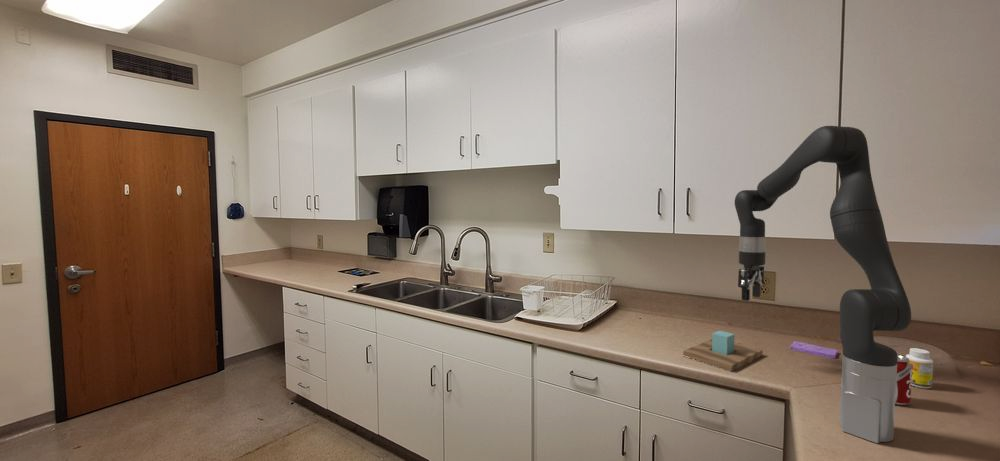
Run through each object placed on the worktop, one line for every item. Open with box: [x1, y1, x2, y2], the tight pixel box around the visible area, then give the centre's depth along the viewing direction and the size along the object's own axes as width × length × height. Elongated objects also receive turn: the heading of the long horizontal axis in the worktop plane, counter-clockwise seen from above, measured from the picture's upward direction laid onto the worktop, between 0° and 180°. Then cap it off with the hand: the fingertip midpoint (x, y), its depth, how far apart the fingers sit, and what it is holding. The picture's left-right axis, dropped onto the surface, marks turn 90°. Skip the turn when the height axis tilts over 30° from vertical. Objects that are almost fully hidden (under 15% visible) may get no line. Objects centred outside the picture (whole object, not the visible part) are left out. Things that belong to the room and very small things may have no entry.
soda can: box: [895, 354, 912, 406], centre depth 106 cm, size 7×7×12 cm
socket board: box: [682, 338, 763, 373], centre depth 138 cm, size 22×16×2 cm
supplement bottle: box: [905, 347, 934, 389], centre depth 115 cm, size 6×6×10 cm
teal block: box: [711, 330, 735, 355], centre depth 138 cm, size 5×5×8 cm
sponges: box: [789, 340, 839, 359], centre depth 142 cm, size 7×13×2 cm, turn 42°
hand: (751, 298), depth 133 cm, fingers open, 8 cm apart
